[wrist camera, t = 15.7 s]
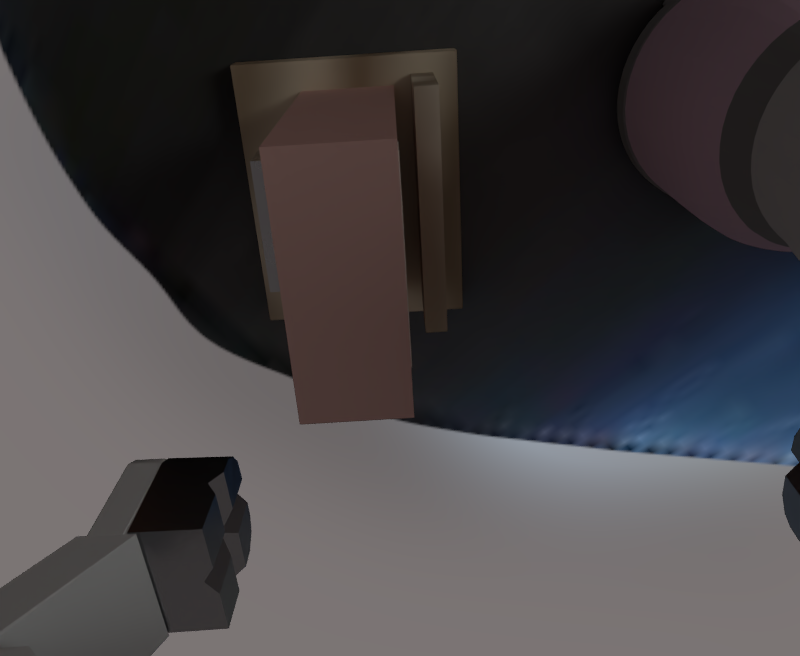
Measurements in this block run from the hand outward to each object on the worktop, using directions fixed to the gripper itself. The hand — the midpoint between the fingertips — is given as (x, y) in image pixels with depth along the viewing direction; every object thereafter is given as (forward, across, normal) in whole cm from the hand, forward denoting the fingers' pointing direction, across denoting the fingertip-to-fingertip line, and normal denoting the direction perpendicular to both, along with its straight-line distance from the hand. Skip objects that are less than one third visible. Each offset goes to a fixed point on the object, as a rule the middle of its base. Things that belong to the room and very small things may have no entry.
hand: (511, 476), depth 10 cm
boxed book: (+31, +5, +5) cm, 32 cm away
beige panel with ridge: (+33, +5, +5) cm, 34 cm away
